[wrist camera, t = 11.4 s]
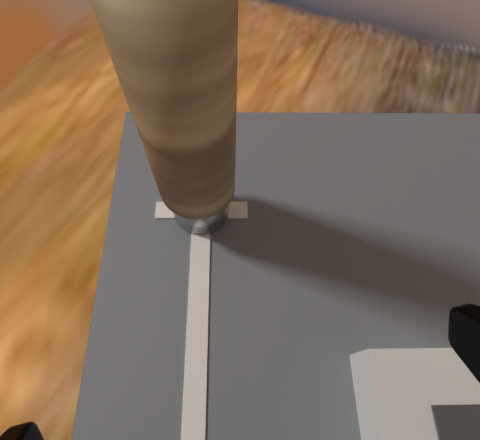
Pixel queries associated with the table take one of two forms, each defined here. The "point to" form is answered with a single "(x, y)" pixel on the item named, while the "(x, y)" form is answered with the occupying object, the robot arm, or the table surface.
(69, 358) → the table surface
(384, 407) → the white flat block
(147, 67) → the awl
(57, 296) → the table surface
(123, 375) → the floor panel
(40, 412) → the table surface
